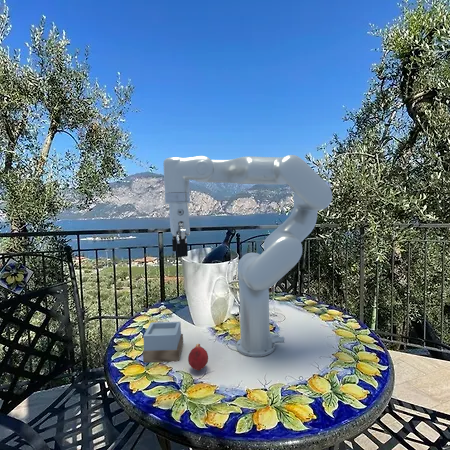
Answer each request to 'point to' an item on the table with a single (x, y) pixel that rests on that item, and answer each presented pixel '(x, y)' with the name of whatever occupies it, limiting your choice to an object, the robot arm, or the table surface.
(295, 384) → the table surface
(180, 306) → the table surface
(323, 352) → the table surface
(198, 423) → the table surface
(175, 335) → the grey top block
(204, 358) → the onion
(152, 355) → the walnut base block
